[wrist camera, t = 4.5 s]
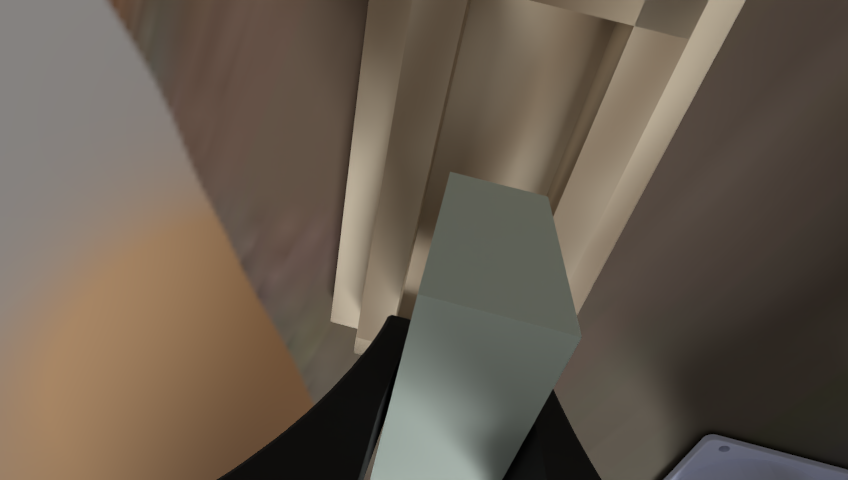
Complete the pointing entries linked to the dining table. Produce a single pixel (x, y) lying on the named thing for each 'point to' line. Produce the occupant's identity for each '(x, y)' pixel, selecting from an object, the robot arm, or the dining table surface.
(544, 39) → the beige rectangular tray
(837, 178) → the dining table surface
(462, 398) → the pale teal block
